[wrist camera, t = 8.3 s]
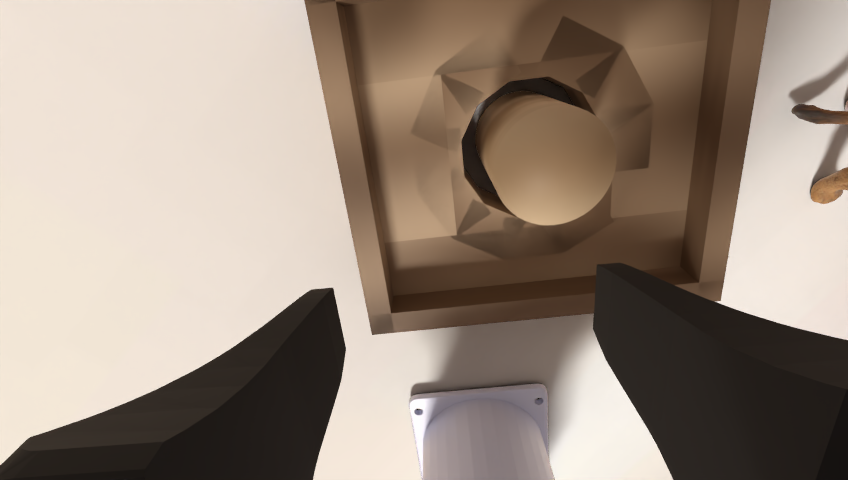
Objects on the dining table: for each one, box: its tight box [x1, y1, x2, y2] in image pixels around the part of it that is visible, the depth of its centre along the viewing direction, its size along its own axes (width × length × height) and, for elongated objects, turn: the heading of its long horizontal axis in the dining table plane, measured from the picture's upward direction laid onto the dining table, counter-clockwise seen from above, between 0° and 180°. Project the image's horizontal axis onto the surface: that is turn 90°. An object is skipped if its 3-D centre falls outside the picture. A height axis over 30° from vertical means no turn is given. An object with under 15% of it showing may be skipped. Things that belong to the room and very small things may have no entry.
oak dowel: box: [475, 91, 616, 225], centre depth 17 cm, size 4×4×6 cm
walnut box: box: [305, 0, 771, 335], centre depth 18 cm, size 14×15×4 cm
